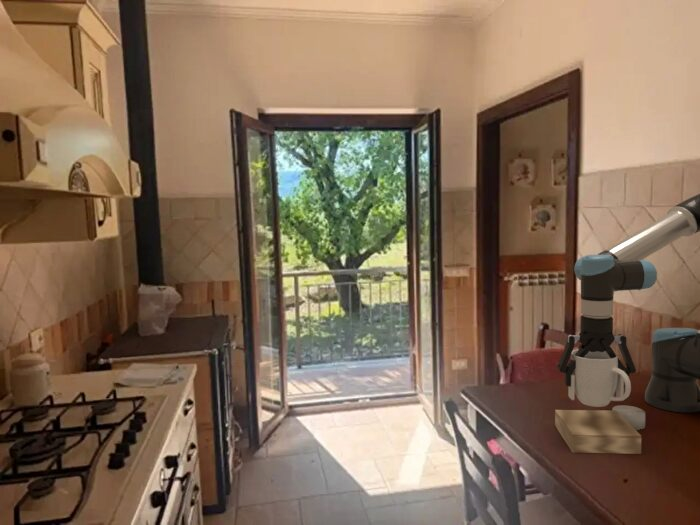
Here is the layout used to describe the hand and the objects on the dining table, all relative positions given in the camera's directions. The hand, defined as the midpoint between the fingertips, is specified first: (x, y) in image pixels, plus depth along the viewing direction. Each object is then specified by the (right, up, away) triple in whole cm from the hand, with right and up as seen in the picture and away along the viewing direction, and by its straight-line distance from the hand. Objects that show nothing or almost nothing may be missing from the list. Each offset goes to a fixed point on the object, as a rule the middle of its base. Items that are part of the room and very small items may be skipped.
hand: (595, 398), depth 133 cm
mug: (+1, -2, 0) cm, 2 cm away
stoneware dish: (+14, -10, +9) cm, 19 cm away
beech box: (0, -11, +1) cm, 11 cm away
